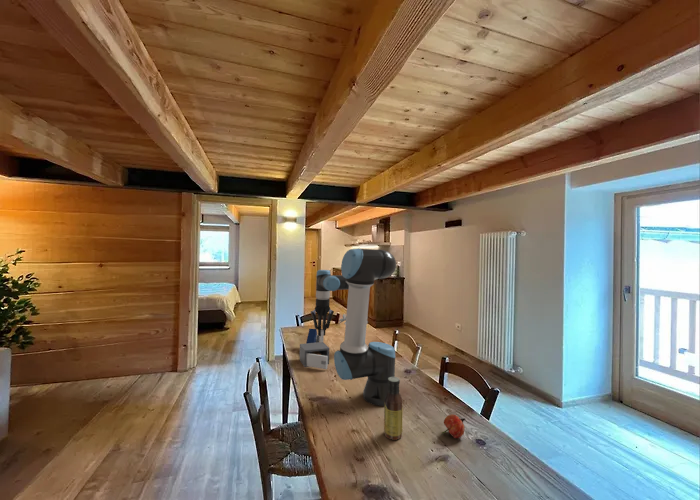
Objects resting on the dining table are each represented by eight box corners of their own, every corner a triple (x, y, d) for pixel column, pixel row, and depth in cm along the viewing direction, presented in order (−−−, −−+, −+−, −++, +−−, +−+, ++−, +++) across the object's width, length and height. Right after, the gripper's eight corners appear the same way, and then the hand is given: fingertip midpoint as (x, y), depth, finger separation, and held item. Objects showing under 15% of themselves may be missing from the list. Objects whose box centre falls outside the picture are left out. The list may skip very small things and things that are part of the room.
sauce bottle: (390, 428, 110) (391, 373, 110) (405, 435, 106) (407, 378, 106) (379, 436, 105) (381, 378, 105) (395, 444, 101) (397, 384, 101)
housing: (329, 364, 170) (329, 348, 170) (304, 367, 165) (304, 350, 165) (322, 357, 181) (323, 341, 181) (299, 359, 176) (299, 344, 176)
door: (326, 369, 160) (326, 356, 160) (304, 366, 164) (305, 353, 164) (327, 368, 161) (327, 356, 161) (306, 365, 165) (306, 353, 165)
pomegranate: (446, 448, 103) (472, 434, 101) (433, 427, 105) (458, 413, 103) (448, 438, 110) (472, 425, 108) (435, 418, 112) (459, 405, 110)
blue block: (319, 344, 204) (319, 325, 200) (313, 364, 186) (312, 344, 181) (311, 344, 205) (310, 325, 200) (304, 364, 186) (302, 343, 182)
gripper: (331, 296, 172) (330, 338, 172) (309, 297, 167) (307, 340, 167) (336, 299, 165) (334, 342, 165) (312, 299, 160) (311, 344, 160)
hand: (321, 341), depth 166 cm, fingers closed
